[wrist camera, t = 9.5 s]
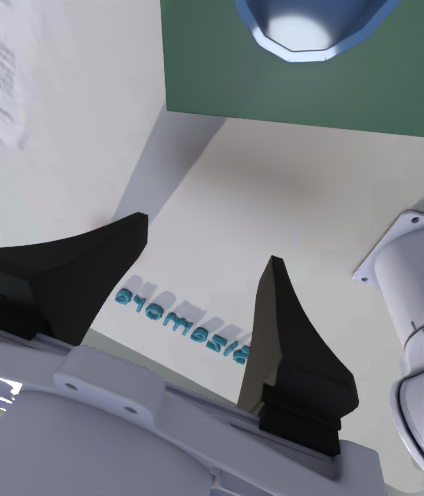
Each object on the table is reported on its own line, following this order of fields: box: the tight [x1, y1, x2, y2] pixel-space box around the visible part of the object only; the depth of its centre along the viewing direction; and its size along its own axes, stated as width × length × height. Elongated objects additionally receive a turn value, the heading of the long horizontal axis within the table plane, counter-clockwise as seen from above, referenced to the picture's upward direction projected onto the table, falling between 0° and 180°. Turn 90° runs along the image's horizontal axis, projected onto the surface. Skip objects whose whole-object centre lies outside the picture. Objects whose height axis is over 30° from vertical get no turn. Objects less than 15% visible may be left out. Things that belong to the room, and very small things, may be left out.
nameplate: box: [115, 289, 250, 365], centre depth 38 cm, size 37×1×5 cm
